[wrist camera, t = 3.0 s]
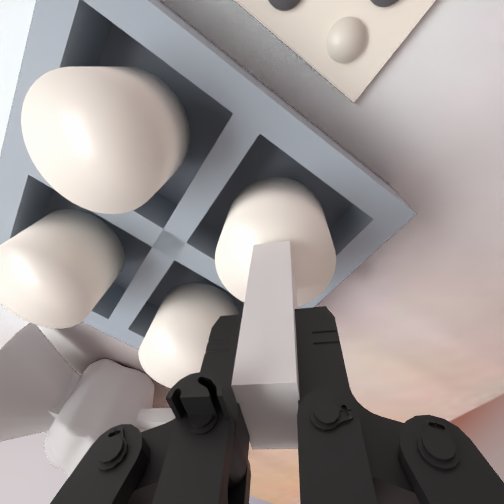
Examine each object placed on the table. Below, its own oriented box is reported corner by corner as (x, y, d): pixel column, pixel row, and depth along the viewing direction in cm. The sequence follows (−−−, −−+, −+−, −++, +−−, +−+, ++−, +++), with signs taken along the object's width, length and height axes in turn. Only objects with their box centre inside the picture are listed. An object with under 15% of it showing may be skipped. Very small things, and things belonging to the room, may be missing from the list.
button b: (149, 318, 21) (124, 366, 18) (184, 268, 19) (163, 313, 15) (213, 351, 22) (201, 403, 19) (254, 309, 20) (249, 359, 17)
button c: (68, 142, 15) (7, 164, 12) (104, 37, 13) (41, 27, 10) (161, 201, 17) (130, 236, 13) (210, 115, 14) (188, 131, 11)
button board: (21, 238, 22) (-26, 269, 19) (108, -41, 14) (53, -75, 11) (229, 348, 27) (221, 390, 23) (390, 186, 18) (416, 213, 15)
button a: (210, 232, 17) (193, 273, 14) (265, 155, 15) (260, 182, 12) (284, 278, 19) (285, 326, 15) (345, 214, 16) (362, 254, 13)
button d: (29, 255, 19) (-26, 296, 16) (51, 191, 17) (-7, 222, 13) (107, 296, 20) (72, 342, 17) (138, 241, 18) (105, 282, 15)
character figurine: (-2, 375, 31) (176, 441, 36) (-90, 476, 24) (151, 542, 28) (22, 294, 25) (233, 387, 30) (-86, 396, 17) (219, 497, 22)
